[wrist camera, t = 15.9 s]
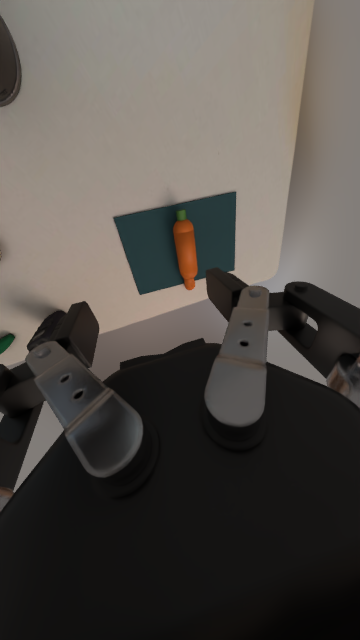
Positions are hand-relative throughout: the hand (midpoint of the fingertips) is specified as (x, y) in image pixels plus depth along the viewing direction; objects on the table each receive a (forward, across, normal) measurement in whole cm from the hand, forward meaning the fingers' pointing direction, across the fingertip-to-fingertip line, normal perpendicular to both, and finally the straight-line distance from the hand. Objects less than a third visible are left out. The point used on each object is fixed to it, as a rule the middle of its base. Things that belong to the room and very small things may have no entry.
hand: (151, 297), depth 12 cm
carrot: (+28, -9, +5) cm, 30 cm away
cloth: (+28, -9, +5) cm, 30 cm away
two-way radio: (+28, +22, +14) cm, 38 cm away
